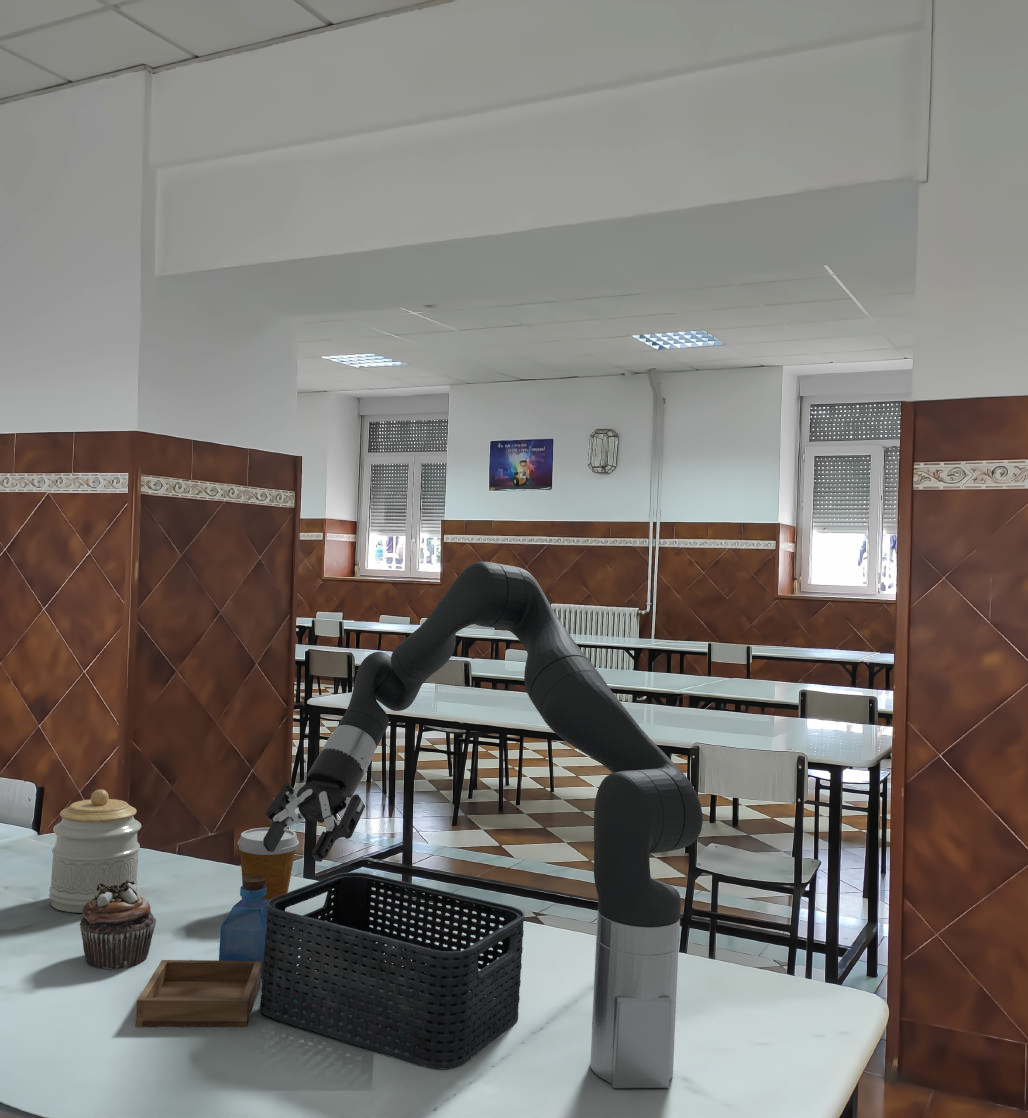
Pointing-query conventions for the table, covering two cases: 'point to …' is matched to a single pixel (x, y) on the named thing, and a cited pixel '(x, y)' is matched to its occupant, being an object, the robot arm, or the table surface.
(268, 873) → the disposable coffee cup
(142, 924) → the cupcake
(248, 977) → the tray
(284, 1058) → the table surface
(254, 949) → the perfume bottle
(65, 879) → the jar
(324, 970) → the storage bin
